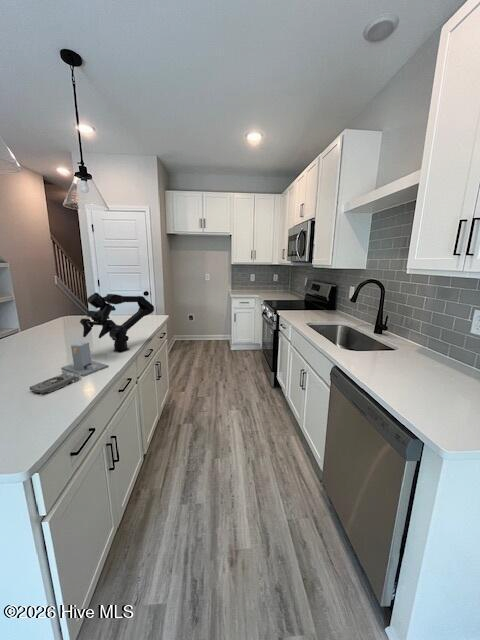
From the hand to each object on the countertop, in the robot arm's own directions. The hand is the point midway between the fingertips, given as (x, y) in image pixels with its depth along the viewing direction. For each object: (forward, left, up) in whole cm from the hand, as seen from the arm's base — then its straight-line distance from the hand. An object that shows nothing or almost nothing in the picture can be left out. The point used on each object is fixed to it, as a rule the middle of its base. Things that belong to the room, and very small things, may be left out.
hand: (91, 337), depth 136 cm
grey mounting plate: (+8, +4, -14) cm, 16 cm away
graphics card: (+25, +10, -14) cm, 31 cm away
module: (+9, +5, -13) cm, 16 cm away
